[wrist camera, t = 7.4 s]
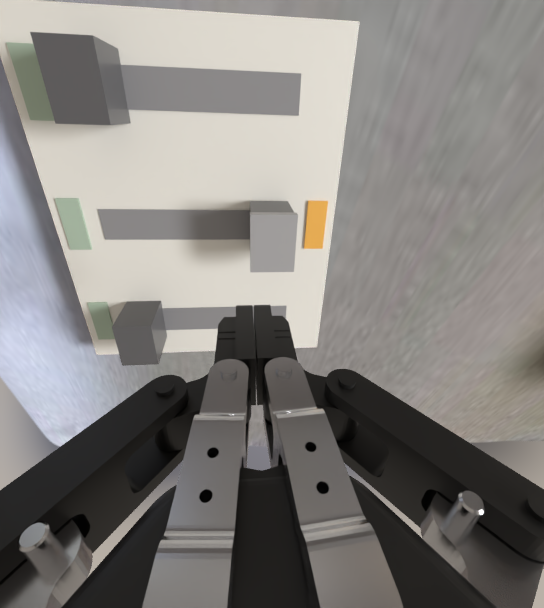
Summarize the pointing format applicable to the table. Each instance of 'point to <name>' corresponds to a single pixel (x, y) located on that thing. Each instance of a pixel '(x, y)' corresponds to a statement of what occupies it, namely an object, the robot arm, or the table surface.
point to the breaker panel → (180, 159)
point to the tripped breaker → (272, 236)
